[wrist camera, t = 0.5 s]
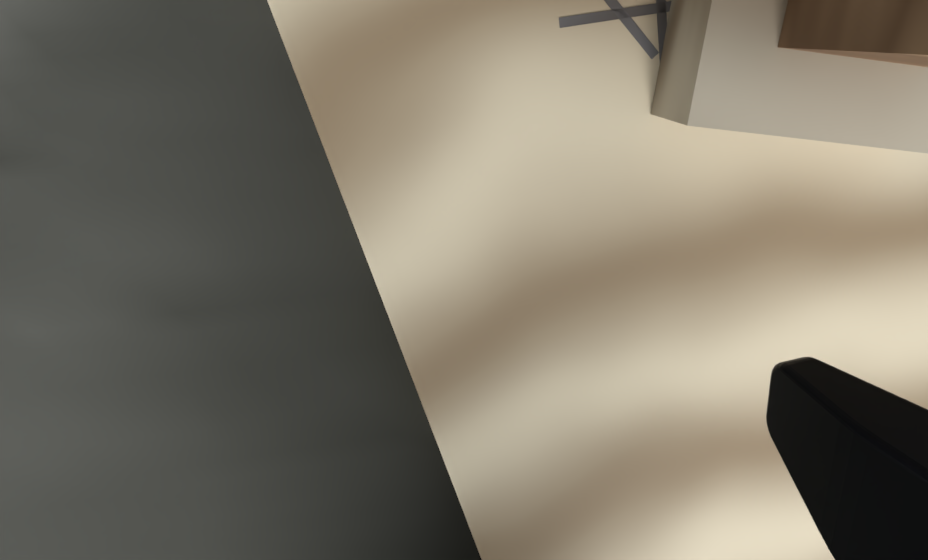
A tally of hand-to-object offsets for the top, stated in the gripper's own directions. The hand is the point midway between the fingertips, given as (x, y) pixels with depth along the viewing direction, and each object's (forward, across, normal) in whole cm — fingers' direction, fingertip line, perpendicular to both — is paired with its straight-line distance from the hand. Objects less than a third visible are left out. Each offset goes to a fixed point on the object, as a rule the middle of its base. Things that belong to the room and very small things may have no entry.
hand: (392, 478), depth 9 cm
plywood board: (+12, -9, +6) cm, 16 cm away
